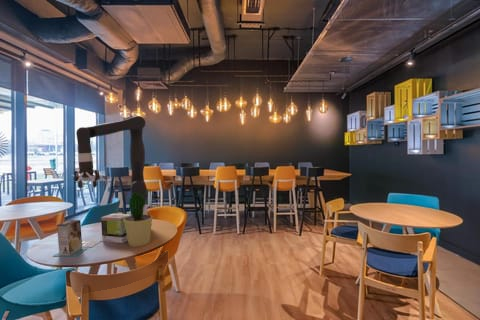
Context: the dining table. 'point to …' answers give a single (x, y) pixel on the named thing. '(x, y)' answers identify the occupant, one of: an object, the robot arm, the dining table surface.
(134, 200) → the potted cactus
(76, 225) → the coffee box
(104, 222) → the tea box
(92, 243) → the plate
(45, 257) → the dining table surface
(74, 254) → the mat
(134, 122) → the robot arm
